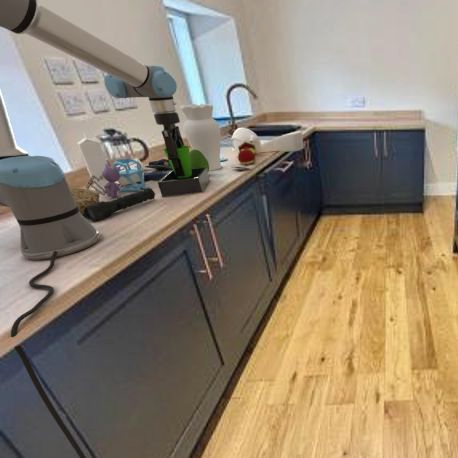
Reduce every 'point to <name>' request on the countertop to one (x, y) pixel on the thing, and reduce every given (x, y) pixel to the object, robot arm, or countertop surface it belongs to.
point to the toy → (223, 159)
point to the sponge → (85, 198)
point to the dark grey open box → (184, 183)
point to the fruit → (198, 160)
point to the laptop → (240, 167)
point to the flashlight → (117, 204)
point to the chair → (130, 172)
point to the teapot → (244, 139)
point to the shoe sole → (283, 143)
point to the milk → (93, 160)
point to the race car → (160, 164)
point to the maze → (96, 184)
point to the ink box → (133, 177)
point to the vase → (203, 132)
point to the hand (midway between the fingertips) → (183, 173)
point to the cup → (183, 160)
